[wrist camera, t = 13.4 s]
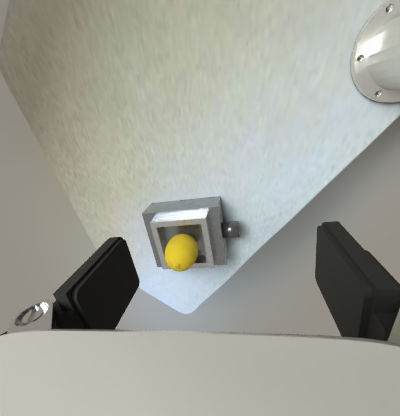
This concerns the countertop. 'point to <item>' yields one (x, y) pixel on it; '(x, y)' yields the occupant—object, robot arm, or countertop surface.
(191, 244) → the lemon
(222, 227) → the housing
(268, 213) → the countertop surface
